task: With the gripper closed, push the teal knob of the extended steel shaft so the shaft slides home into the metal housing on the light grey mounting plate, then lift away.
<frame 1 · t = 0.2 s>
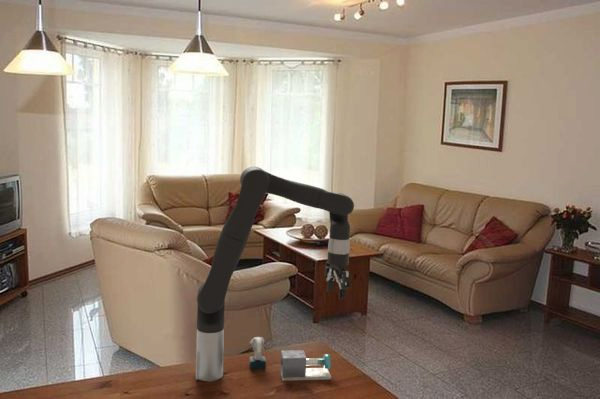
hand: (335, 295, 196), 28 cm above the table, fingers open, 8 cm apart
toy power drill: (257, 367, 200), on the table
shaft: (310, 361, 195), point 5 cm above the table, slide at 5.0 cm
shaft housing: (305, 375, 195), on the table
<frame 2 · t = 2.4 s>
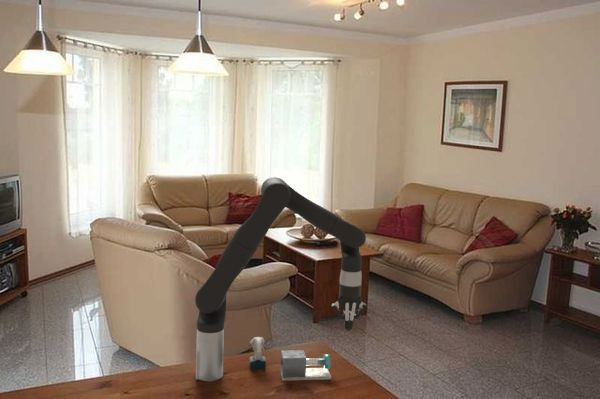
hand: (348, 329, 195), 17 cm above the table, fingers closed
nothing on the table moved.
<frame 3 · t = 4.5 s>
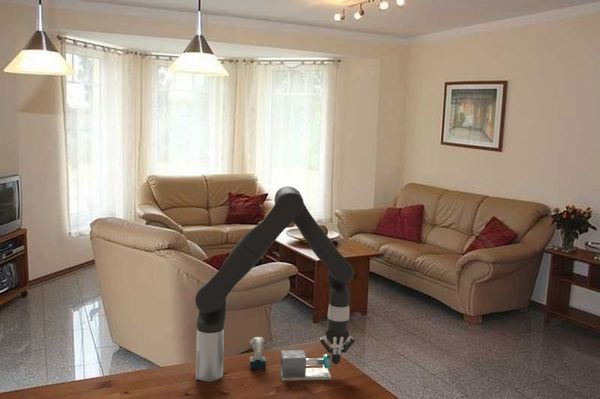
hand: (335, 363, 196), 4 cm above the table, fingers closed
shaft: (310, 361, 195), point 5 cm above the table, slide at 4.8 cm, touching gripper
everything else where it was.
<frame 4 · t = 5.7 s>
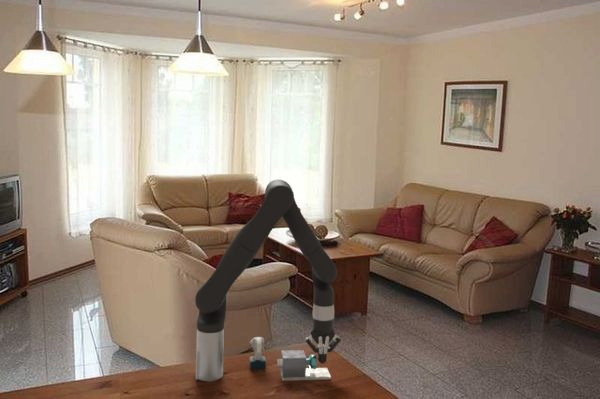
hand: (322, 362, 195), 5 cm above the table, fingers closed
shaft: (296, 362, 194), point 5 cm above the table, slide at -0.1 cm, touching gripper
everything else where it was.
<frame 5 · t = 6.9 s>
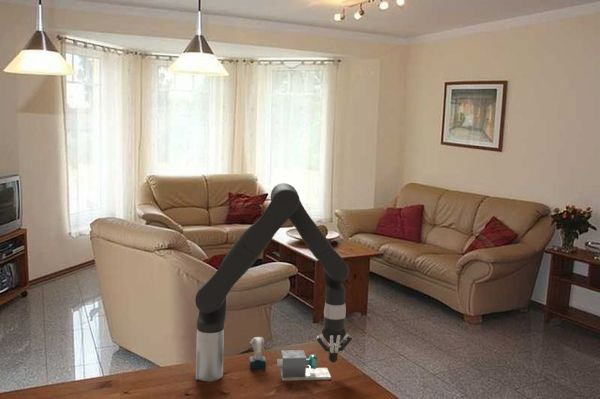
hand: (332, 361, 196), 5 cm above the table, fingers closed
shaft: (296, 362, 194), point 5 cm above the table, slide at 0.0 cm
everything else where it was.
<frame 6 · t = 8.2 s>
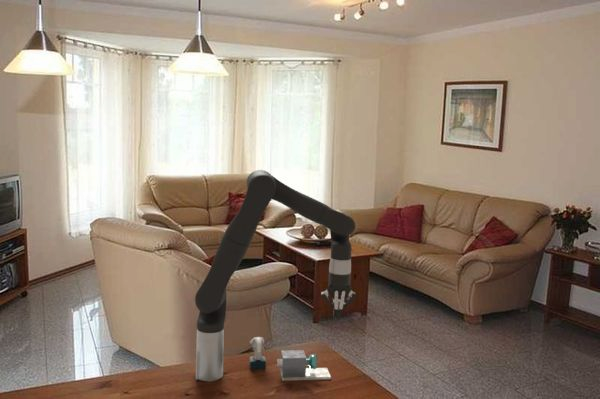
hand: (337, 318, 194), 21 cm above the table, fingers closed
nothing on the table moved.
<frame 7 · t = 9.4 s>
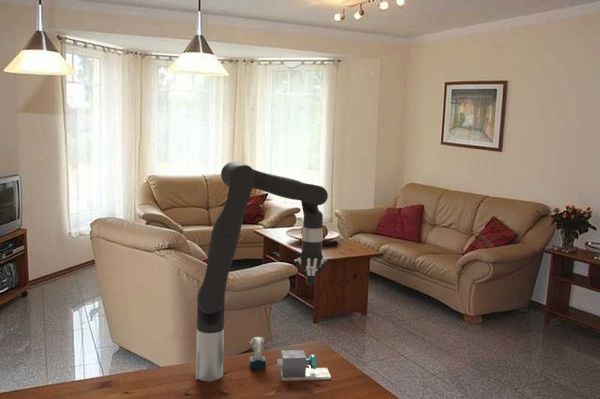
hand: (310, 284, 204), 29 cm above the table, fingers closed
nothing on the table moved.
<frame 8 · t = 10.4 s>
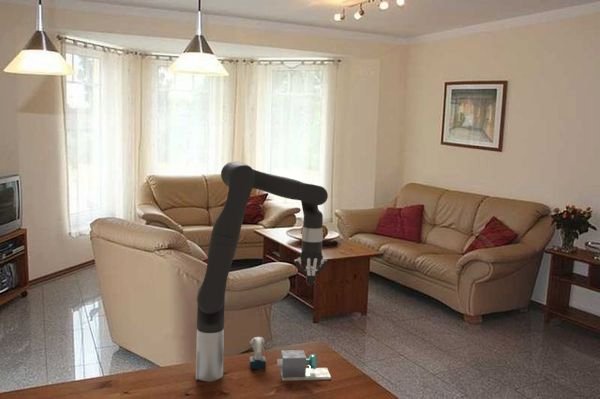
hand: (310, 284, 204), 29 cm above the table, fingers closed
nothing on the table moved.
at the end: shaft slide at 0.0 cm; shaft 0.5 cm from the target spot, resting on shaft housing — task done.
